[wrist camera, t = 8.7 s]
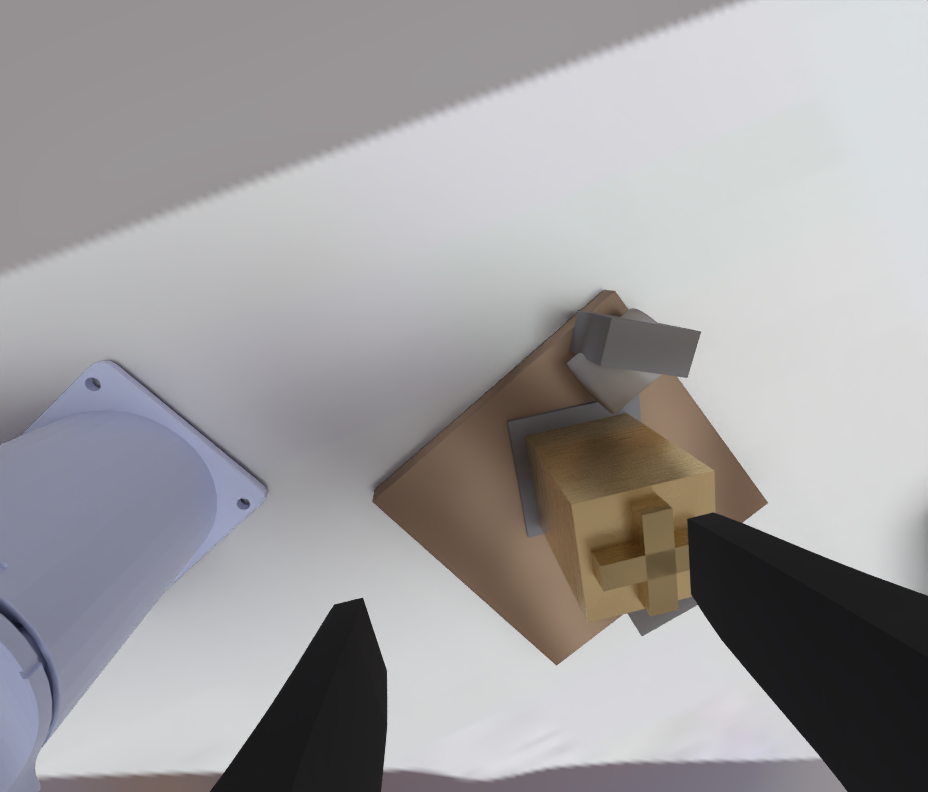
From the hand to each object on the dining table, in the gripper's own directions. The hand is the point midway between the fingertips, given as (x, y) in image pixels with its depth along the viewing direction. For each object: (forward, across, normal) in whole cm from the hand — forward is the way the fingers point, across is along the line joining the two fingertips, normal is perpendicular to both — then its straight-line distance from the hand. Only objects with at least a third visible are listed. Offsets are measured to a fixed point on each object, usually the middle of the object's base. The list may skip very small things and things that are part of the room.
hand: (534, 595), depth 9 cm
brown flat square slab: (+10, -4, +4) cm, 11 cm away
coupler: (+9, -4, +2) cm, 10 cm away
